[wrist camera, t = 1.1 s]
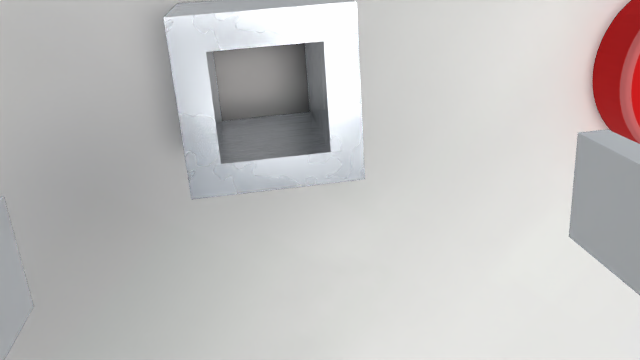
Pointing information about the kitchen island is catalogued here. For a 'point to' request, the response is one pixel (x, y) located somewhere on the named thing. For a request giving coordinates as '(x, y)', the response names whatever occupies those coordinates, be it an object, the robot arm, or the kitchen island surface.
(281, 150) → the hollow square tube
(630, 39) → the decorative ornament
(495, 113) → the kitchen island surface
